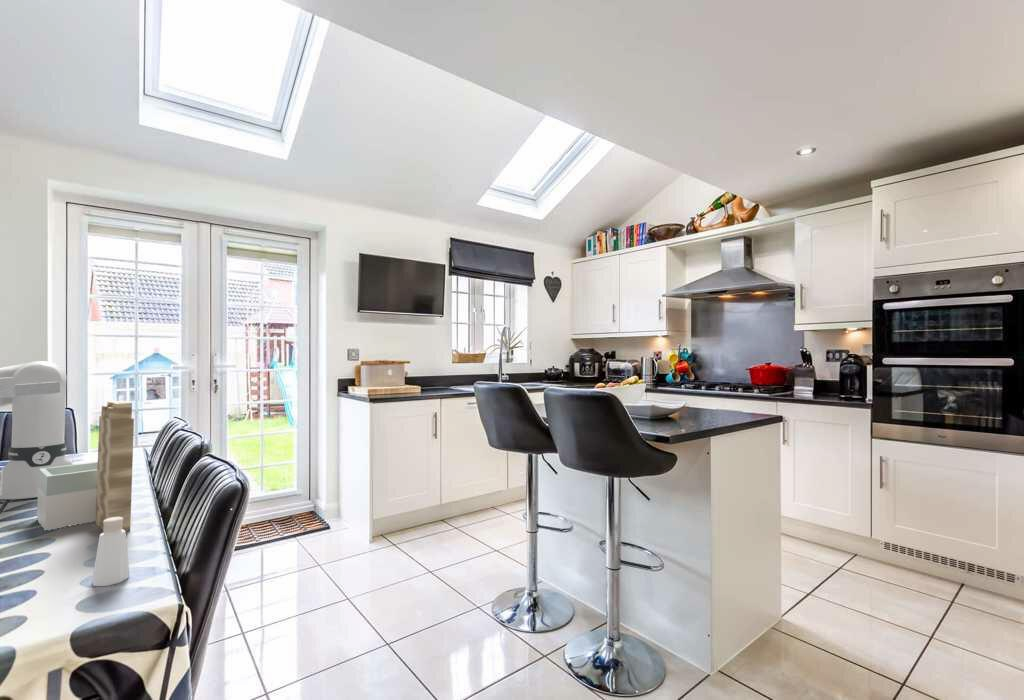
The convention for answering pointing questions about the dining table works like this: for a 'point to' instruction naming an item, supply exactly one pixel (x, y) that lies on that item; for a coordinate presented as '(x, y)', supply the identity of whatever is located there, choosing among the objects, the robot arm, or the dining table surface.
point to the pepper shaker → (111, 554)
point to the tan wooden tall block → (115, 463)
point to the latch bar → (26, 388)
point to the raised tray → (67, 495)
